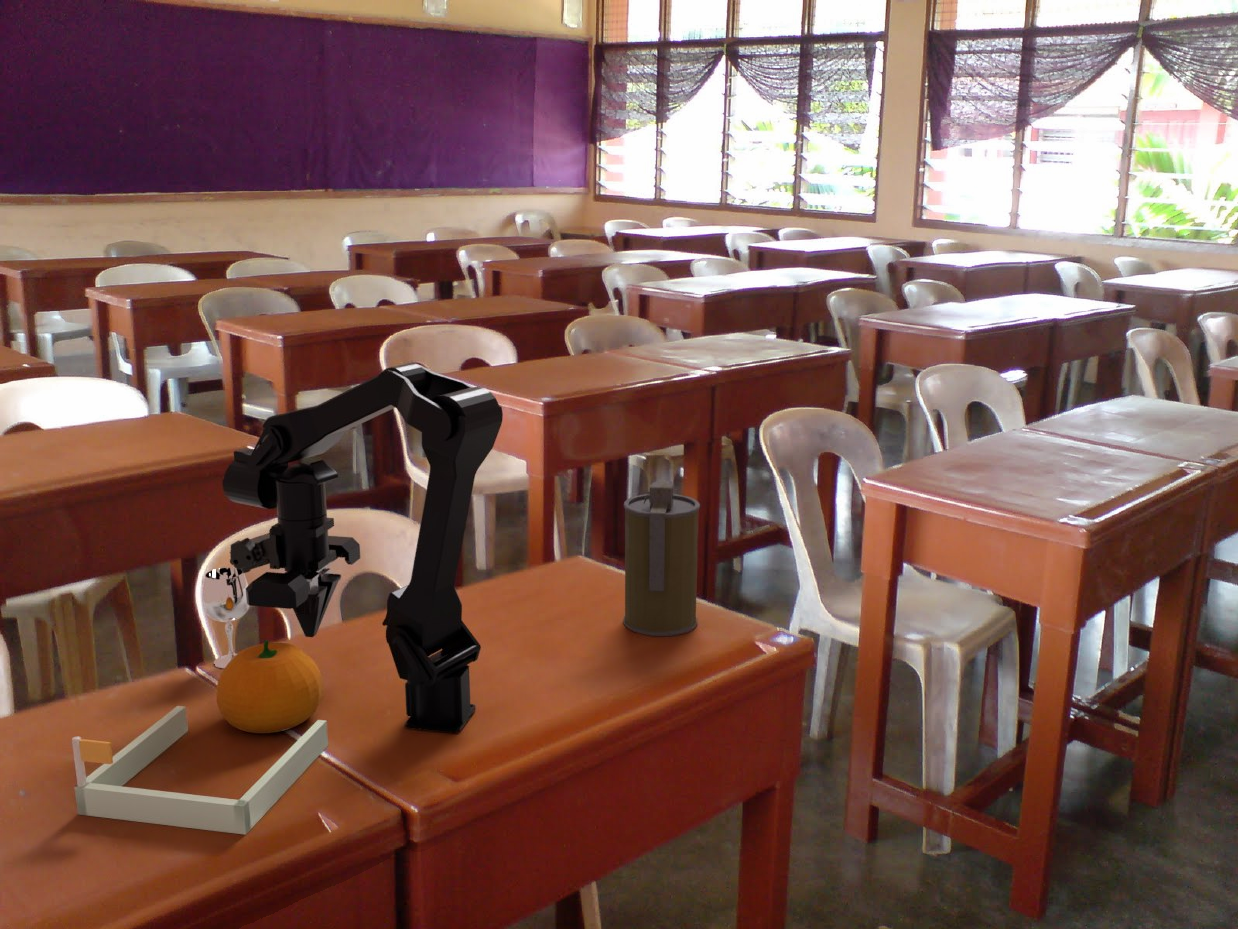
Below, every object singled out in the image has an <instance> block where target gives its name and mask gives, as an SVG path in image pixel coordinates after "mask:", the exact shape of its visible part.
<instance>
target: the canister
mask: <svg viewBox="0 0 1238 929" xmlns="http://www.w3.org/2000/svg"><path fill="white" fill-rule="evenodd" d="M700 507H701V504H700V502H699V501H698V500H696V499H694V498H693V497H691V496H687V495H681V494H676V493H674V482H672V481H671V480H655V481H654V482H652V484H650V486H649V491H647V493H645V494H639V495H636V496H632V497H629V498H627V499H626V500H624V503H623V508H624V509H625V510H624V518H625V519H624V544H625V545H624V616H623V619H622V620H623V624H624V626H625V627H626V628H627V629H628V630H630V631H633V632H634V633H638V634H641V635H645V636H651V637H673V636H679V635H683V634H686V633H689V632H691V631H693V630H694V629H695V628H696V627H697V626H698V622H699V620H698V617H697V581H698V576H697V575H698V547H699V546H698V545H699V544H698V539H699V536H698V534H699V510H700Z"/></svg>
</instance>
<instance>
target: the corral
mask: <svg viewBox="0 0 1238 929" xmlns="http://www.w3.org/2000/svg"><path fill="white" fill-rule="evenodd" d="M187 718H188V716H187V707H186V706H183V705H176V706H175V707H174V708H173V709H172V710H170V711H169V712H168V713H167V714H165V715H164V716H163V717H162V718H160V719H159V720H158V721H156V722H155V723H154V724H152V726H150V727H149V728H148V729H146V730H145V731H144V732H142V733H141V734H139V736H137V737H136V738H135V739H133V740H132V741H131V742H130V743H128V744H127V745H126V746H124V747H123V748H122V749H121V750H119V751H118V752H117V753H115V754H114V755H113V750H112V743H111V741H102V740H95V739H94V740H92V739H84V738H82V737H81V736H73V737H72V738H71V742H72V745H71V746H72V753H73V759H74V767H75V775H76V783H77V784H76V785H75V786H74V795H75V801H76V802H75V803H76V810H77V815H79V816H80V815H82V816H88V817H89V816H90V817H96V818H97V817H98V818H104V819H105V818H106V819H107V818H108V819H114V820H122V821H131V822H139V823H145V824H146V823H148V824H155V825H165V826H171V827H178V828H185V829H186V828H188V829H189V828H190V829H196V830H202V831H203V830H206V831H210V832H211V831H212V832H213V831H214V832H221V833H230V834H236V835H237V834H239V835H244V836H245V835H247V834H249V832H250V831H251V830H252V828H254V826H256V824H257V823H258V822H259V821H260V820H261V819H262V818H263V816H265V814H267V812H268V811H269V810H270V809H271V808H272V807H273V806H274V805H275V804H276V803H277V802H278V801H279V799H281V798H282V796H283V795H284V794H286V792H287V791H288V790H289V789H290V788H291V786H293V784H294V783H295V782H296V781H298V779H299V778H300V777H301V775H302V774H303V773H304V772H305V771H306V770H307V769H308V768H309V767H310V766H311V765H312V764H313V763H314V762H315V760H316V759H318V758H319V756H320V755H321V754H322V753H323V752H324V751H325V750H326V749H327V748H328V747H329V738H328V723H327V720H325V719H324V720H323V719H317V720H316V722H314V724H312V725H311V726H310V727H309V729H307V731H306V732H305V733H303V735H302V736H300V737H299V738H298V739H297V741H295V742H294V744H292V745H291V747H290V748H288V749H287V750H286V752H285V753H284V754H283V755H282V756H280V757H279V759H278V760H277V761H276V762H275V763H274V764H273V765H272V766H271V767H270V768H269V769H268V770H267V771H266V772H265V773H264V774H263V775H262V776H261V777H260V778H259V779H258V780H257V781H256V782H255V783H254V784H253V785H252V786H251V787H250V788H249V789H248V790H247V791H246V792H245V793H244V794H243V796H241V797H240V798H239V799H232V798H225V797H224V798H223V797H216V796H207V795H199V794H192V793H191V794H189V793H182V792H173V791H163V790H156V789H148V788H140V787H139V788H138V787H130V786H124V785H125V784H126V783H128V782H129V781H130V780H131V779H133V778H134V777H135V776H136V775H137V774H138V773H139V772H141V771H142V770H143V769H144V768H146V767H147V766H148V765H149V764H151V762H154V760H155V759H157V758H158V757H159V756H160V755H161V754H162V753H164V752H165V751H166V750H167V749H168V748H170V746H172V745H173V744H174V743H175V742H176V741H178V740H180V739H181V737H183V736H184V735H185V734H186V733H187V732H189V726H188V719H187ZM86 762H89V763H98V764H101V765H100V766H99V767H97V768H96V769H95V770H94V771H92V772H91V773H90V774H89V775H88V776H86V775H87V774H86V768H85V763H86Z"/></svg>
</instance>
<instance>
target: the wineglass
mask: <svg viewBox="0 0 1238 929" xmlns="http://www.w3.org/2000/svg"><path fill="white" fill-rule="evenodd" d="M202 585H203V586H202V591H201V592H202V597H201V598H202V600H201V601H202V607H203V610H204V613H205V614H206V615H207V616H208V617H209V618H210V619H211V620H214V621H216V622H221V623H225V625H224V630H225V633H226V636H227V641H228V653H227V654H224V655H222V656H219V657H218V658H216V659H215V660H214V661H213V665H214V664H215V665H214V666H215V667H216V668H219V669H225V667H226V666H227V664H228V663H229V662H230V661H231V660H232V658H233V657H235V656H236V655H237V654H238V653H235V651H234V647H233V632H234V625H233V623H232V622H234V621H236V620H239V619H240V618H242V617H243V616H244V615H245V614H246V613H247V612H248V610H249V609H250V606H249V605H248V604H247V599H246V588H247V587H248V585H249V583H248V580H247V577H246V573H242V570H241V569H237V568H235V567H234V566H233V567H230V566H229V567H227V566H226V567H220V568H219V567H218V568H215V569H212V570H209V571H207V572H206V573H205V574H204V579H203V584H202Z"/></svg>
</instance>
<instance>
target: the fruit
mask: <svg viewBox="0 0 1238 929" xmlns="http://www.w3.org/2000/svg"><path fill="white" fill-rule="evenodd" d="M236 654H237V655H236V656H235V657H233V658H232V660H231V661H230V662H229V663H228V664H227V666H226V667H225V668H223V670H222V671H221V673H220V675H219V677H218V679H217V684H216V704H217V708H218V710H219V713H220V714H221V715H222V717H223V718H224V719H225V721H226V722H228V723H229V725H231V726H232V727H233V728H236V729H238V730H241V731H244V732H246V733H251V734H252V733H253V734H271V733H273V734H274V733H278V732H283V731H287V730H289V729H293V728H294V727H296V726H298V725H301V724H303V723H304V722H305V721H307V720H308V719H309V718H311V716H312V715H314V714H315V712H316V710H317V709H318V707H319V705H320V703H321V700H322V698H323V697H322V696H323V693H324V684H323V680H322V679H323V678H322V674H321V671H320V668H319V666H318V665H317V663H316V661H315V660H314V659H313V658H312V657H311V656H309V654H307V653H306V652H305V651H304V650H302V649H301V648H299V647H297V646H296V645H292V644H289V643H284V642H270V641H269V640H264V643H259V644H255V645H252V646H249V647H246V648H244V649H243V650H241V651H240V652H238V653H236Z"/></svg>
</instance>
